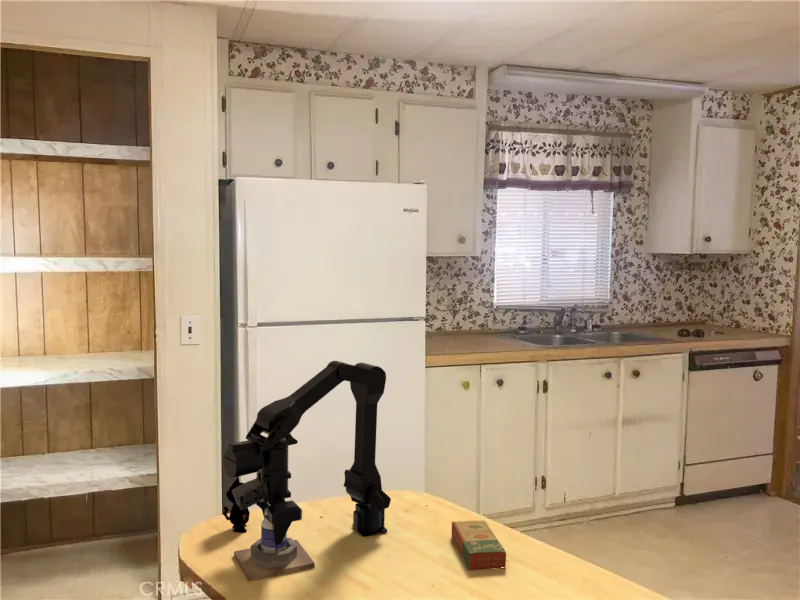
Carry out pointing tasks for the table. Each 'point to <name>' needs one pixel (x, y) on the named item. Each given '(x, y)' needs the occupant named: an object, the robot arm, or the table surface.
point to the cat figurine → (236, 511)
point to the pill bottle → (270, 538)
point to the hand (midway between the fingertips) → (274, 538)
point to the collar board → (273, 560)
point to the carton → (478, 545)
